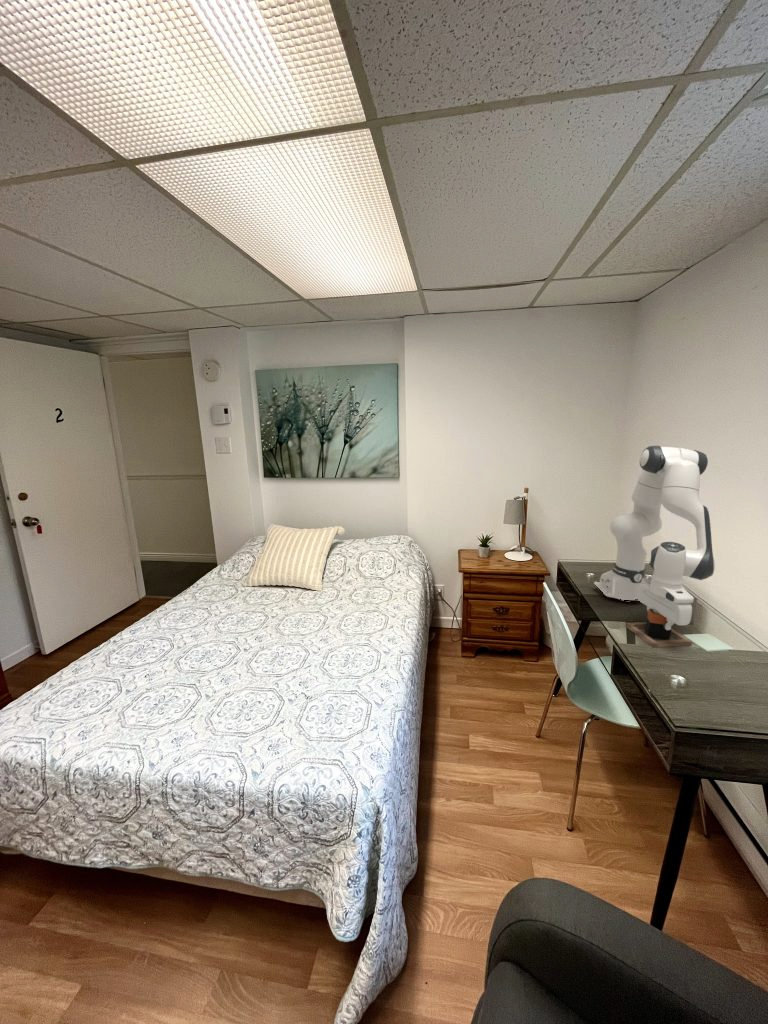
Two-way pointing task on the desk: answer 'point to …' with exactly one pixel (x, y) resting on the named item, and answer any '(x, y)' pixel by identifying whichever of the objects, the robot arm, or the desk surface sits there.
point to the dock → (664, 643)
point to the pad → (708, 642)
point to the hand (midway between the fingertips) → (659, 624)
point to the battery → (656, 625)
